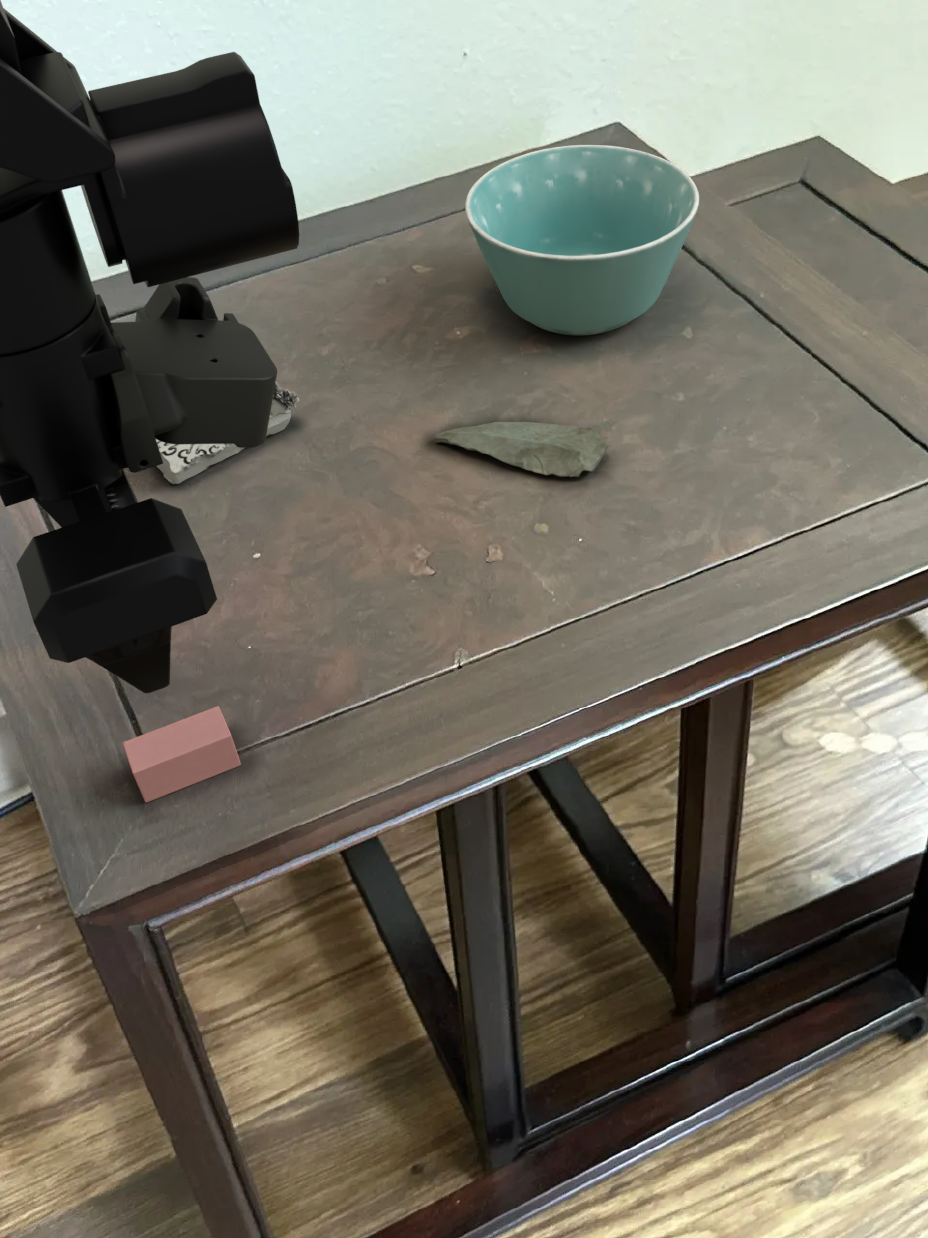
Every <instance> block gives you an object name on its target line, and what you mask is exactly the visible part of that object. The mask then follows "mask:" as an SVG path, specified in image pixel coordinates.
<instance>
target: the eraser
mask: <svg viewBox="0 0 928 1238" xmlns="http://www.w3.org/2000/svg"><path fill="white" fill-rule="evenodd" d="M225 719H226V718H225V717H224V715H223V712H222V710H221V707H220V706H219V705H216V706H214V707H212V708H209V709H206V710H204V711H201V712H199V713H196V714H194V715H190V716H188V717H186V718H183V719H180V720H178V721H174V722H172V723H170V724H167V725H164V726H162V727H160V728H157V729H154V730H151V731H149V732H146V733H144V734H141V735H139V736H136V737H134V738H131V739H128V740H126V741H122V747H123V749H124V752H125V755H126V759H127V761H128V764H129V767H130V769H131V772H132V775H133V777H134V780H135V783H136V785H137V786H138V789H139V791H140V794H141V796H142V799H143V800H144V802H145V803H149V802H151V801H155V800H157V799H159V798H161V797H164V796H167V795H170V794H172V793H175V792H177V791H180V790H182V789H185V788H187V787H189V786H193V785H195V784H197V783H200V782H202V781H205V780H207V779H209V778H212V777H215V776H217V775H219V774H223V773H225V772H227V771H230V770H232V769H235V768H237V767H240V766H241V765H242V764H241V760H240V757H239V754H238V750H237V748H236V746H235V745H236V744H235V742H234V739H233V736H232V734H231V731H230V729H229V726H228V724H227V721H226V720H225Z"/></svg>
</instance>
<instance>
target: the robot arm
mask: <svg viewBox="0 0 928 1238" xmlns="http://www.w3.org/2000/svg"><path fill="white" fill-rule="evenodd" d="M76 187H80V188H81V191H82V194H83V197H84V200H85V204H86V207H87V210H88V214H89V216H90V219H91V223H92V225H93V228H94V232H95V235H96V237H97V240H98V243H99V246H100V249H101V252H102V255H103V258H104V260H105V263H106V265H107V268H112V267H116V266H119V265H122V264H123V261H125V264H126V267H127V270H128V274H129V277H130V280H131V282H132V285H137V284H141V283H144V284H145V285H146V287H147V288H152V287H155V286H157V287H156V288H155V290H154V292H153V294H152V295H151V296H150V298H149V299H148V301H147V302H146V304H145V305H144V307H143V308H142V310H139V309H138V310H136V312H135V313H136V314H135V320H134V321H117V322H112V321H111V318H110V315H109V312H108V310H107V307H106V305H105V302H104V300H103V298H102V296H101V294H100V293H98V294H96V292H95V288H94V285H93V282H92V280H91V276H90V272H89V270H88V267H87V264H86V260H85V257H84V254H83V252H82V247H81V245H80V241H79V237H78V235H77V232H76V228H75V227H74V223H73V220H72V216H71V214H70V211H69V207H68V204H67V202H66V198H65V195H64V192H63V191H64V190H68V189H69V190H70V189H73V188H76ZM297 209H298V208H297V204H296V197H295V193H294V188H293V185H292V181H291V179H290V178H289V176H288V175H287V173H286V172H285V170H284V169H283V167H282V163H281V160H280V157H279V154H278V150H277V147H276V143H275V140H274V137H273V134H272V131H271V128H270V124H269V122H268V120H267V118H266V115H265V112H264V110H263V107H262V104H261V102H260V97H259V91H258V86H257V81H256V76H255V74H254V73H253V71H252V70H251V68H250V67H249V66H248V64H247V62H246V61H245V60H244V58H243V57H242V56H241V54H238V53H237V52H236V51H232V52H231V51H230V52H226V53H222V54H218V55H213V56H209V57H206V58H202V59H200V60H198V61H195V62H194V63H192V64H190V65H188V66H186V67H184V68H181V69H178V70H175V71H170V72H165V73H162V74H157V75H152V76H148V77H144V78H143V77H142V78H140V79H139V78H138V79H134V80H131V81H125V82H122V83H117V84H112V85H109V86H104V87H100V88H96V89H95V88H94V89H91V90H88V91H87V90H86V88H85V85H84V83H83V81H82V79H81V76H80V75H79V72H78V70H77V68H76V66H75V65H74V64H73V63H72V62H71V61H70V60H68V59H67V58H66V57H64V55H63V53H62V52H60V51H57V50H56V49H54V47H53V46H51V45H50V44H49V43H47V42H46V41H45V40H43V39H42V38H41V37H40V36H39V35H37V34H36V33H35V31H33V30H31V29H30V28H29V27H28V26H26V25H25V24H24V23H23V22H21V20H19V19H18V18H16V17H15V16H14V15H13V14H12V13H11V12H9V11H8V10H6V8H4V6H3V3H2V1H1V0H0V499H1V501H2V503H3V505H4V508H6V507H10V506H13V505H16V504H20V503H22V502H26V501H28V500H32V499H33V500H34V501H35V502H36V503H37V504H38V505H39V506H40V507H41V508H42V509H43V510H44V511H45V513H47V514H48V515H49V516H50V517H51V518H52V519H53V520H54V521H55V523H57V525H58V526H59V527H60V528H56V529H54V530H50V531H47V532H44V533H41V534H38V535H35V536H33V537H32V538H31V540H30V541H29V543H28V545H27V546H26V548H25V549H24V551H23V552H22V554H21V555H20V558H19V559H18V561H17V562H16V564H15V565H16V569H17V571H18V575H19V579H20V583H21V585H22V588H23V591H24V595H25V598H26V602H27V605H28V608H29V612H30V615H31V620H32V622H33V625H34V626H35V629H36V631H37V633H38V635H39V638H40V640H41V642H42V644H43V646H44V649H45V651H46V653H47V655H48V657H49V659H50V660H54V661H58V662H63V663H67V664H70V663H73V662H76V661H79V660H82V659H84V658H86V659H87V660H88V661H89V660H90V661H91V662H93V663H95V664H96V665H98V666H99V667H102V669H105V670H106V671H107V672H109V673H111V674H113V675H115V676H116V677H117V678H119V679H121V680H122V681H124V682H126V683H127V684H129V685H130V686H132V687H133V688H135V689H137V690H138V691H139V692H141V693H143V694H151V693H154V692H156V691H159V690H162V689H164V688H167V687H168V686H169V685H170V683H171V655H172V654H171V650H172V649H171V648H172V629H173V627H174V626H177V625H180V624H183V623H185V622H189V621H191V620H193V619H197V618H199V617H202V616H205V615H207V614H208V612H209V611H210V610H211V609H212V607H213V606H214V605H215V603H216V602H217V600H218V597H217V594H216V590H215V586H214V584H213V581H212V578H211V577H212V576H211V573H210V570H209V568H208V564H207V561H206V559H205V557H204V555H203V553H202V551H201V548H200V547H199V544H198V542H197V539H196V538H195V535H194V533H193V531H192V529H191V527H190V524H189V523H188V520H187V518H186V516H185V514H184V511H183V509H182V508H180V507H177V506H174V505H172V504H169V503H166V502H164V501H161V500H158V499H155V498H153V497H150V498H147V499H144V500H141V501H138V499H137V496H136V494H135V492H134V489H133V486H132V484H131V482H130V480H129V478H128V477H129V476H128V475H127V473H126V471H125V469H128V470H129V472H130V473H132V474H135V473H138V472H142V471H144V470H148V469H151V468H154V467H157V466H158V465H161V464H163V461H162V458H161V454H160V451H159V448H158V445H157V441H156V439H157V440H159V441H161V442H165V443H169V444H235V445H236V446H237V447H239V448H244V449H246V448H247V449H249V448H256V447H258V446H261V445H263V444H264V443H265V442H266V440H267V436H266V435H267V429H268V423H269V417H270V411H271V406H272V400H273V394H274V388H275V382H277V376H278V368H277V366H276V365H275V362H274V361H273V360H272V358H271V357H270V355H269V353H268V352H267V350H266V348H265V347H264V346H263V344H262V343H261V340H260V338H258V336H257V334H256V333H255V331H253V330H252V329H251V328H250V327H248V326H247V325H245V324H243V323H240V322H239V321H238V318H237V317H236V316H235V314H234V313H229V312H224V313H223V318H222V320H219V318H218V315H217V313H216V311H215V308H214V305H213V303H212V301H211V299H210V297H209V294H208V293H207V291H206V290H205V288H204V286H203V285H202V283H201V282H200V280H199V278H197V277H194V276H197V275H201V274H205V273H208V272H213V271H217V270H220V269H225V268H228V267H231V266H235V265H239V264H243V263H247V262H251V261H254V260H259V259H262V258H266V257H270V256H274V255H278V254H281V253H285V252H289V251H292V250H296V249H298V247H299V245H300V225H299V217H298V216H299V215H298V210H297Z"/></svg>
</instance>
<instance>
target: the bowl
mask: <svg viewBox="0 0 928 1238" xmlns="http://www.w3.org/2000/svg"><path fill="white" fill-rule="evenodd" d="M693 180H694V179H692V178H691V177H690V175H689V174H688V173H687V172H686V171H685V170H683V169H682V168H681V167H679V166H678V165H676V164H674V162H671V161H669V160H667V159H665V158H663V157H660V156H657V155H655V154H653V153H649V152H646V151H643V150H638V149H634V148H628V147H623V146H616V145H602V144H575V145H573V144H572V145H563V146H556V147H554V146H553V147H548V148H543V149H539V150H535V151H531V152H527V153H524V154H521V155H518V156H515V157H512V158H511V159H508V160H506V161H505V162H502V163H500V164H497V165H496V166H494V167H493V168H491V169H490V170H488V171H487V172H486V173H485V174H483V175H482V176H481V177H480V178H478V180H476V182H475V183H474V184H473V185H472V186H471V188H470V189H469V192H468V193H467V195H466V198H465V203H464V211H465V216H466V219H467V221H468V224H469V226H470V229H471V231H472V234H473V236H474V238H475V240H476V243H477V246H478V248H479V250H480V252H481V254H482V257H483V259H484V261H485V264H486V265H487V267H488V269H489V272H490V273H491V275H492V277H493V280H494V281H495V284H496V285H497V287H498V290H499V292H500V294H501V297H502V298H503V300H504V302H505V303H506V305H507V306H508V307H509V309H510V310H511V311H512V312H514V313H515V314H516V315H517V316H518V317H520V318H521V319H523V320H525V321H527V322H529V323H531V324H532V325H534V326H536V327H537V328H540V329H542V330H544V331H547V332H551V333H555V334H559V335H566V336H592V335H599V334H603V333H608V332H611V331H614V330H616V329H619V328H621V327H624V326H625V325H627V324H628V323H630V322H631V321H633V320H635V319H637V318H639V317H640V316H642V315H643V314H645V313H646V312H647V311H648V310H650V309H651V308H652V306H653V305H654V304H655V303H656V302H657V301H658V299H659V297H660V295H661V293H662V291H663V290H664V287H665V285H666V283H667V281H668V278H669V276H670V274H671V272H672V270H673V267H674V266H675V264H676V261H677V259H678V258H679V255H680V252H681V250H682V248H683V246H684V243H685V241H686V239H687V237H688V234H689V232H690V230H691V227H692V225H693V223H694V220H695V218H696V215H697V212H698V209H699V205H700V194H699V189H698V187H697V185H696V183H695V182H694V181H693Z"/></svg>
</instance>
